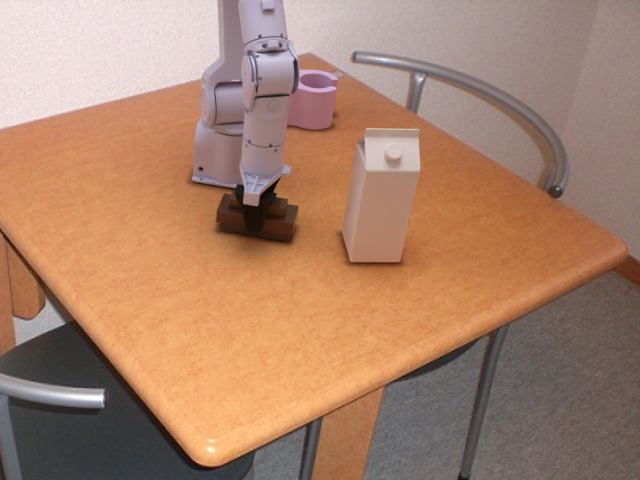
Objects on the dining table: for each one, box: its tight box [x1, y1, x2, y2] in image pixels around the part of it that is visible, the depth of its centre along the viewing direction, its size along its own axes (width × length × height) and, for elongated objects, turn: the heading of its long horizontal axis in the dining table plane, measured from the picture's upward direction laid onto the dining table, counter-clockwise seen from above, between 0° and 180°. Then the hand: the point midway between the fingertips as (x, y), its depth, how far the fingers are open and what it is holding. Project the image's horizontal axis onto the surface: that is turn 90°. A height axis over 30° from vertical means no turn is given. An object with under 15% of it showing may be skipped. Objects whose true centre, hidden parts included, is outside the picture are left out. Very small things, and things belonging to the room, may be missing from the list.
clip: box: [220, 68, 339, 131], centre depth 152 cm, size 20×12×7 cm, turn 81°
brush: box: [215, 189, 300, 243], centre depth 126 cm, size 11×5×5 cm, turn 79°
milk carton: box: [341, 127, 421, 263], centre depth 119 cm, size 7×7×19 cm
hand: (256, 220), depth 127 cm, fingers closed on brush, 4 cm apart
